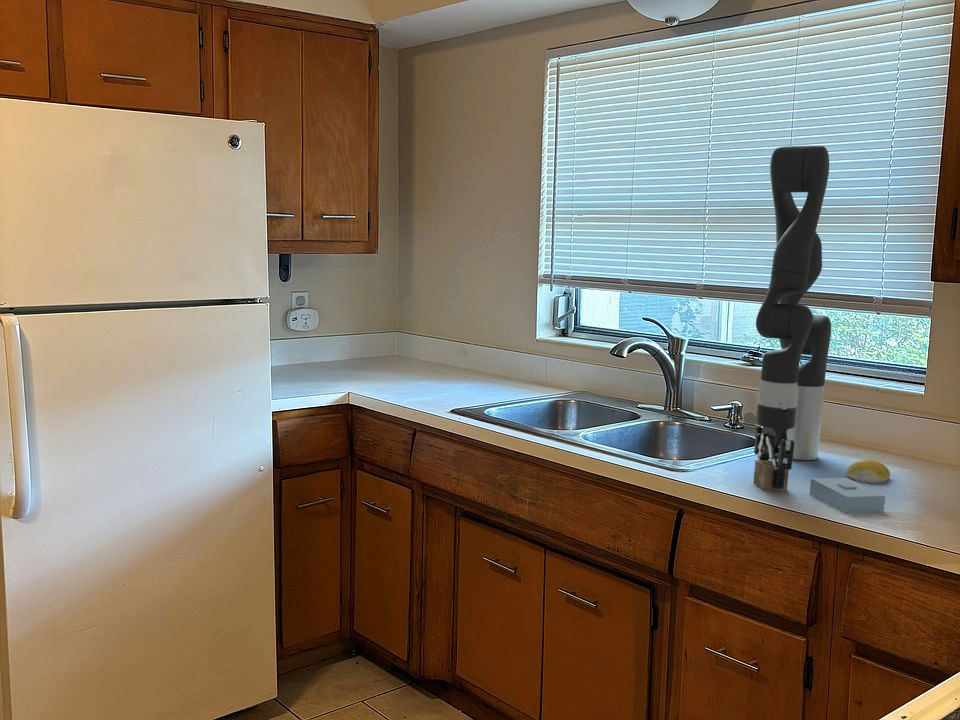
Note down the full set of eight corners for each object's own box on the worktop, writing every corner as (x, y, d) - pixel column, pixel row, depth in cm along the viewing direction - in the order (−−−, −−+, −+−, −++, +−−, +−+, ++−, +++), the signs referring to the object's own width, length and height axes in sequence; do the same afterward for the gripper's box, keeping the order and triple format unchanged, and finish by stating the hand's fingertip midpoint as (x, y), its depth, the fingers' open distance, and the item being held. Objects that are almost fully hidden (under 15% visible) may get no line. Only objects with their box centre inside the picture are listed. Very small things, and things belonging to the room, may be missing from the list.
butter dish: (809, 495, 178) (811, 477, 177) (845, 494, 179) (847, 476, 179) (845, 514, 166) (847, 495, 166) (883, 513, 168) (885, 494, 167)
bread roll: (892, 478, 193) (894, 460, 192) (882, 486, 186) (884, 468, 185) (852, 471, 198) (853, 453, 197) (841, 479, 191) (843, 461, 190)
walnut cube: (753, 483, 184) (755, 460, 183) (776, 484, 184) (778, 460, 184) (762, 490, 179) (764, 466, 178) (786, 491, 179) (789, 466, 179)
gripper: (745, 395, 186) (739, 473, 188) (773, 409, 172) (766, 492, 174) (780, 396, 187) (773, 473, 189) (811, 410, 172) (803, 493, 175)
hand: (770, 482), depth 181 cm, fingers open, 7 cm apart
